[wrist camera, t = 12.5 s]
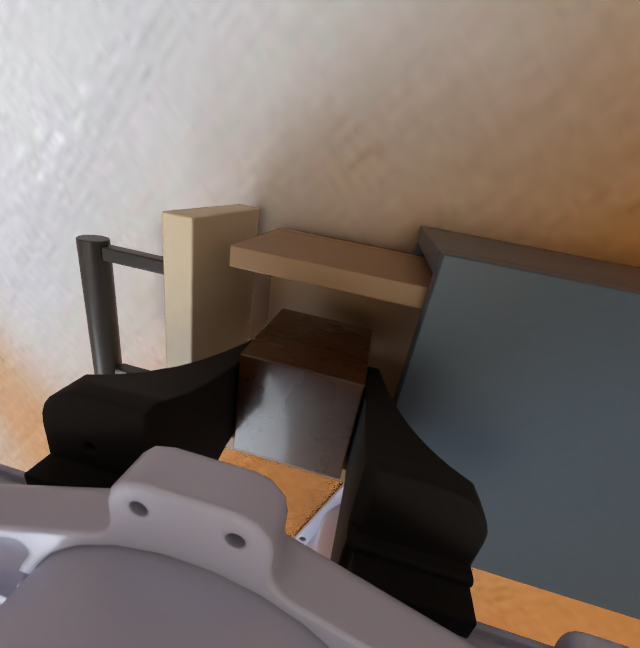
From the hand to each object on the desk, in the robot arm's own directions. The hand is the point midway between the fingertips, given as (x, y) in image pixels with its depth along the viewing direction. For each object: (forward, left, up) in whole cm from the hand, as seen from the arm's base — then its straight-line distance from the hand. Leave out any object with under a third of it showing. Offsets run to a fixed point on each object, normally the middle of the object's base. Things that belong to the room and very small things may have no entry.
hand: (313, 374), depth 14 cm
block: (0, 0, -1) cm, 1 cm away
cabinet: (+3, -9, -6) cm, 11 cm away
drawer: (-1, +3, -6) cm, 6 cm away
